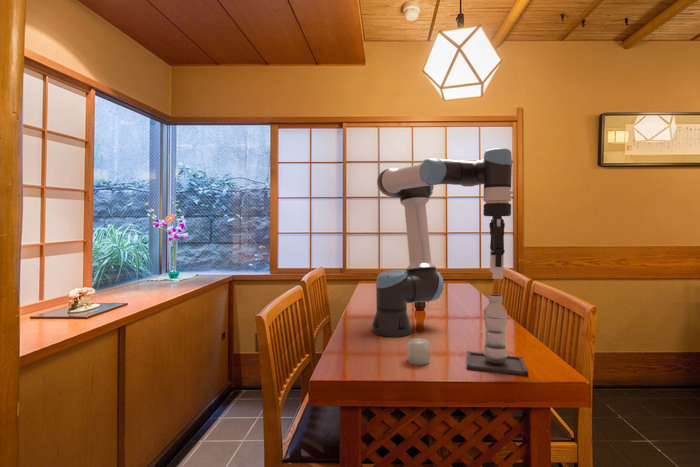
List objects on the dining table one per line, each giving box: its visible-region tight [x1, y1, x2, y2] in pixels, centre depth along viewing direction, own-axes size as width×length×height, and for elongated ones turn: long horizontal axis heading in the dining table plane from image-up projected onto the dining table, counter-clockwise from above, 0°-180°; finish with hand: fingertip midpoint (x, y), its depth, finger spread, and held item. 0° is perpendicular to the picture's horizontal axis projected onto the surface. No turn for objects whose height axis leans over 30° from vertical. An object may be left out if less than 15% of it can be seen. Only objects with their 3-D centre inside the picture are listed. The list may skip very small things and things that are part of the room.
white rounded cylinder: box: [406, 337, 430, 366], centre depth 113 cm, size 6×6×6 cm
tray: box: [466, 351, 529, 377], centre depth 110 cm, size 16×12×1 cm
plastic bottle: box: [482, 293, 509, 364], centre depth 110 cm, size 6×7×20 cm
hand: (496, 275), depth 110 cm, fingers open, 13 cm apart
